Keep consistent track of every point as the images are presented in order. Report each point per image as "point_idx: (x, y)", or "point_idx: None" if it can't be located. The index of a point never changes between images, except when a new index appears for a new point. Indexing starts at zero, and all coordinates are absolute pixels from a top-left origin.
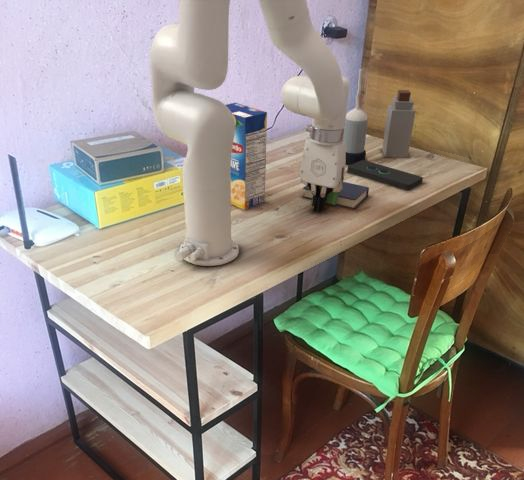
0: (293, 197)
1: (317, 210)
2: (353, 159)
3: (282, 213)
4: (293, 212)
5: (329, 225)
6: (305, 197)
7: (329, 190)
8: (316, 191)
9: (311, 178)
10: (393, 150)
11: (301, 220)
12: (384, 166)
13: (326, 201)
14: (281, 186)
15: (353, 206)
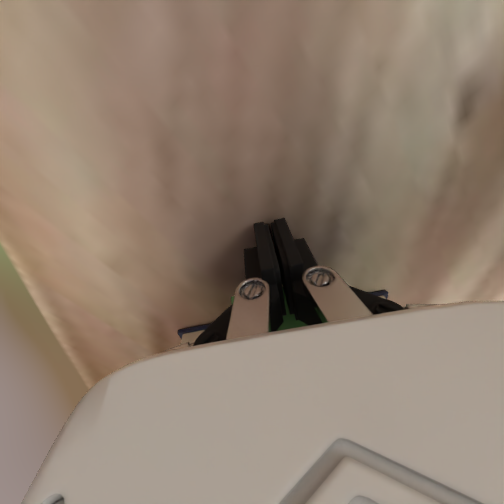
0: (419, 269)
1: (260, 225)
2: None
3: (419, 73)
4: (363, 140)
5: (109, 141)
6: (374, 293)
7: (210, 338)
8: (307, 295)
9: (417, 367)
10: None
11: (269, 71)
12: None
13: None
14: None
15: (182, 338)
